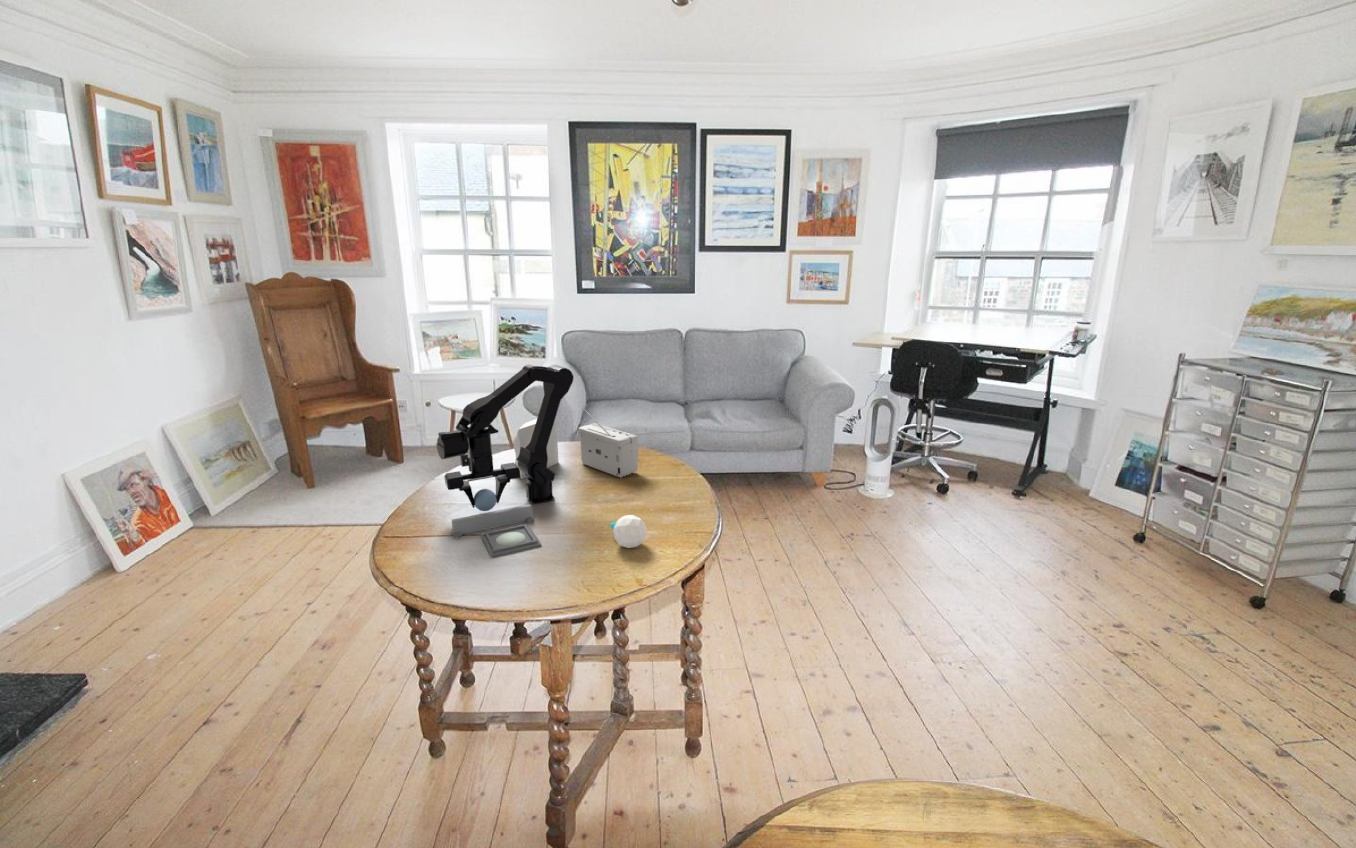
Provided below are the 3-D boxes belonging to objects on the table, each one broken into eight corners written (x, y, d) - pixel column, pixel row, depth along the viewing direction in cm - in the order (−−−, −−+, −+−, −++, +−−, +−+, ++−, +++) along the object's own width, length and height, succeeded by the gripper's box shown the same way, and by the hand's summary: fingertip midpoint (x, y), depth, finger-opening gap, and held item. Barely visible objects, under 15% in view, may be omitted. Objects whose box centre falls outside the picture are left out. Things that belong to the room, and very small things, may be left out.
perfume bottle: (621, 546, 138) (592, 534, 146) (645, 555, 143) (616, 543, 152) (634, 514, 139) (605, 504, 148) (658, 525, 145) (628, 515, 153)
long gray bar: (529, 515, 161) (528, 502, 159) (533, 521, 157) (532, 507, 156) (452, 531, 151) (450, 517, 150) (454, 538, 148) (453, 523, 147)
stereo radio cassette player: (639, 473, 191) (638, 414, 185) (620, 480, 185) (619, 419, 179) (596, 458, 204) (594, 402, 198) (577, 464, 198) (575, 407, 193)
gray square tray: (528, 526, 155) (528, 522, 154) (541, 546, 145) (541, 541, 144) (481, 536, 149) (480, 532, 149) (491, 557, 139) (491, 553, 139)
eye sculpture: (534, 456, 206) (532, 410, 201) (560, 463, 199) (558, 416, 194) (496, 471, 192) (492, 422, 187) (522, 479, 186) (518, 429, 181)
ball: (494, 503, 165) (493, 484, 164) (499, 512, 160) (497, 491, 159) (472, 508, 163) (470, 487, 161) (476, 516, 158) (474, 495, 156)
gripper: (508, 437, 168) (512, 488, 172) (438, 447, 159) (444, 500, 163) (518, 449, 158) (522, 502, 163) (445, 460, 150) (451, 516, 154)
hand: (485, 504), depth 161 cm, fingers closed on ball, 6 cm apart
